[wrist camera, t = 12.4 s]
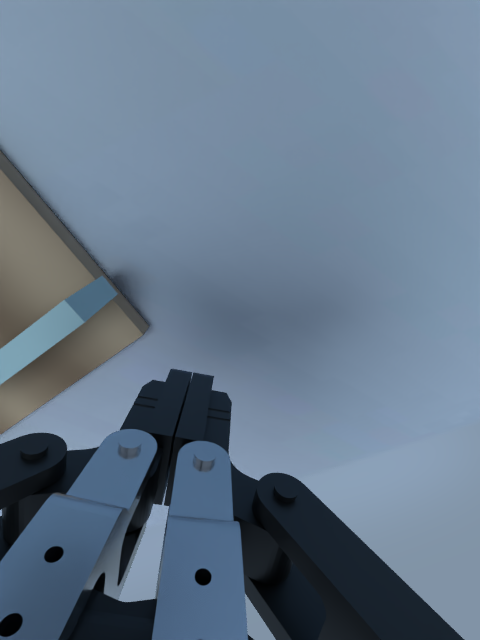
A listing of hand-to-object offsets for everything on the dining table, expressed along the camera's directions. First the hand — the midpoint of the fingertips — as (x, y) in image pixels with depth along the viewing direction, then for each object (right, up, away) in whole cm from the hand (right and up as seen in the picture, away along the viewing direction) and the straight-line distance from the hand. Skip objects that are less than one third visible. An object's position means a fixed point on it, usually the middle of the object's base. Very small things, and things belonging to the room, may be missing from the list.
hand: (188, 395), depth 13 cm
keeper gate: (-8, +2, +6) cm, 10 cm away
